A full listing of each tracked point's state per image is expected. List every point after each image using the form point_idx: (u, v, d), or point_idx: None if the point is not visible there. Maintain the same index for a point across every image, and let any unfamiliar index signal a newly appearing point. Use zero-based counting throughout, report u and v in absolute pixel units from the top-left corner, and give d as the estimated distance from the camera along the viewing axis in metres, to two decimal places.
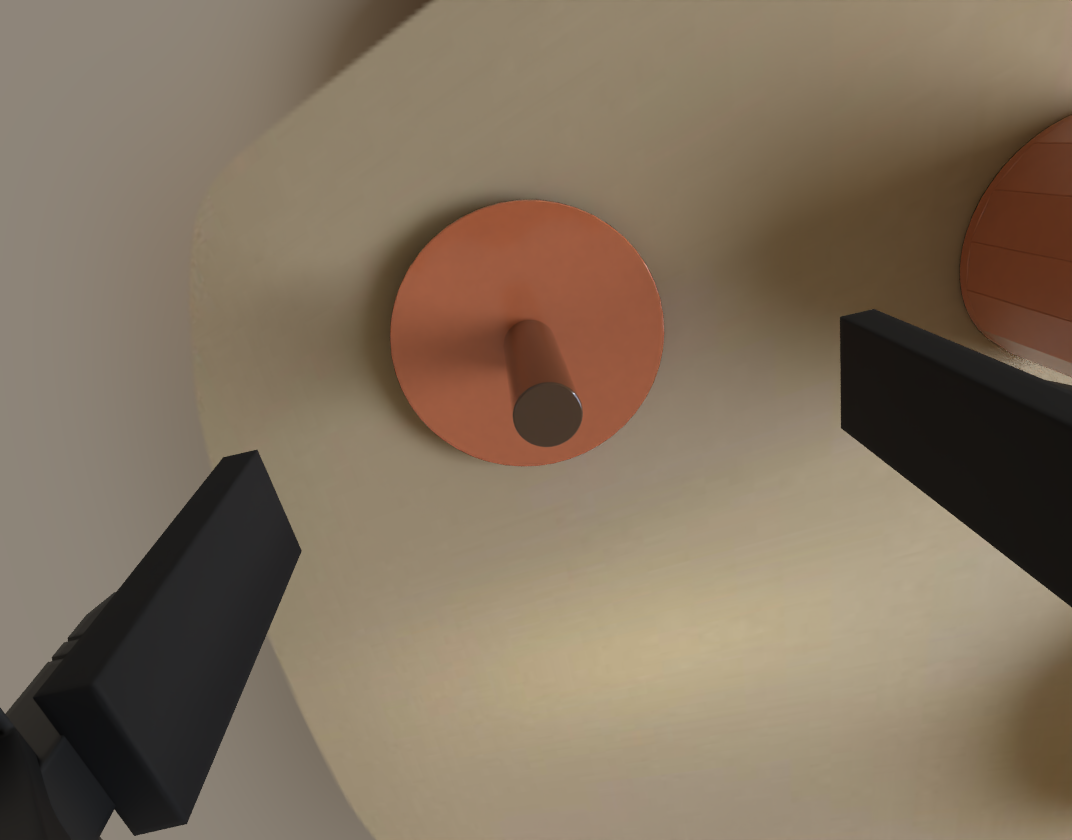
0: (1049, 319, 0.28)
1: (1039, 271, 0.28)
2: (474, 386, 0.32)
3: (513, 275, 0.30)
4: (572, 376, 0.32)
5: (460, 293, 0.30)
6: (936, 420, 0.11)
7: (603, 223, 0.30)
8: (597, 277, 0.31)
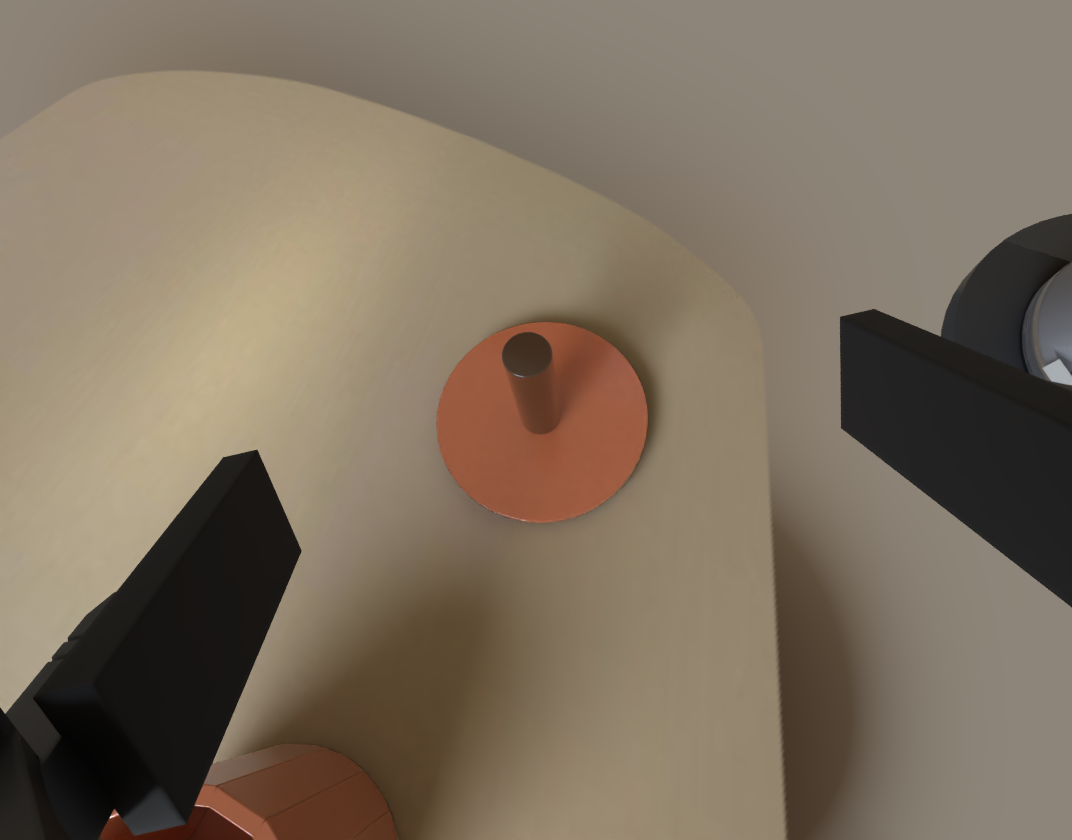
0: (278, 761, 0.31)
1: (318, 779, 0.31)
2: None
3: (590, 436, 0.40)
4: (498, 426, 0.41)
5: (604, 399, 0.41)
6: (936, 420, 0.11)
7: (580, 511, 0.39)
8: (550, 485, 0.39)
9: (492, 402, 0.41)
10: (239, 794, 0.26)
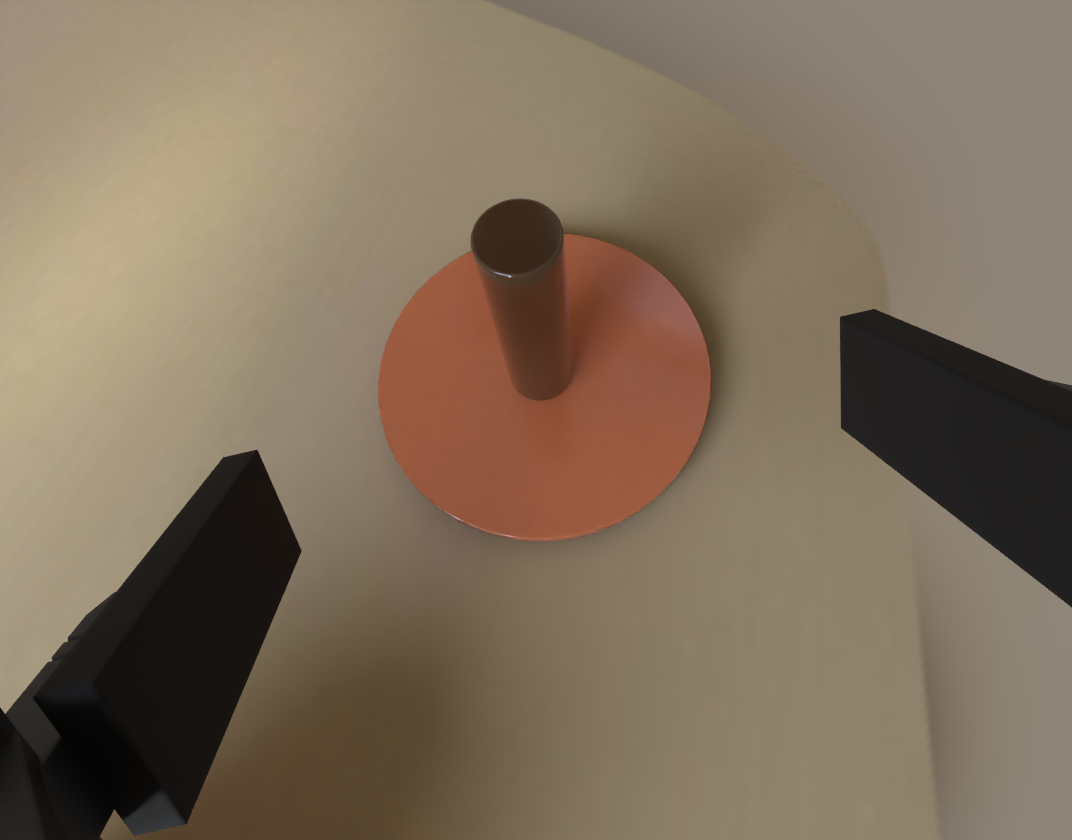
0: None
1: None
2: None
3: (619, 406, 0.25)
4: (474, 387, 0.26)
5: (641, 349, 0.26)
6: (936, 420, 0.11)
7: (601, 525, 0.24)
8: (552, 481, 0.24)
9: (466, 350, 0.27)
10: None
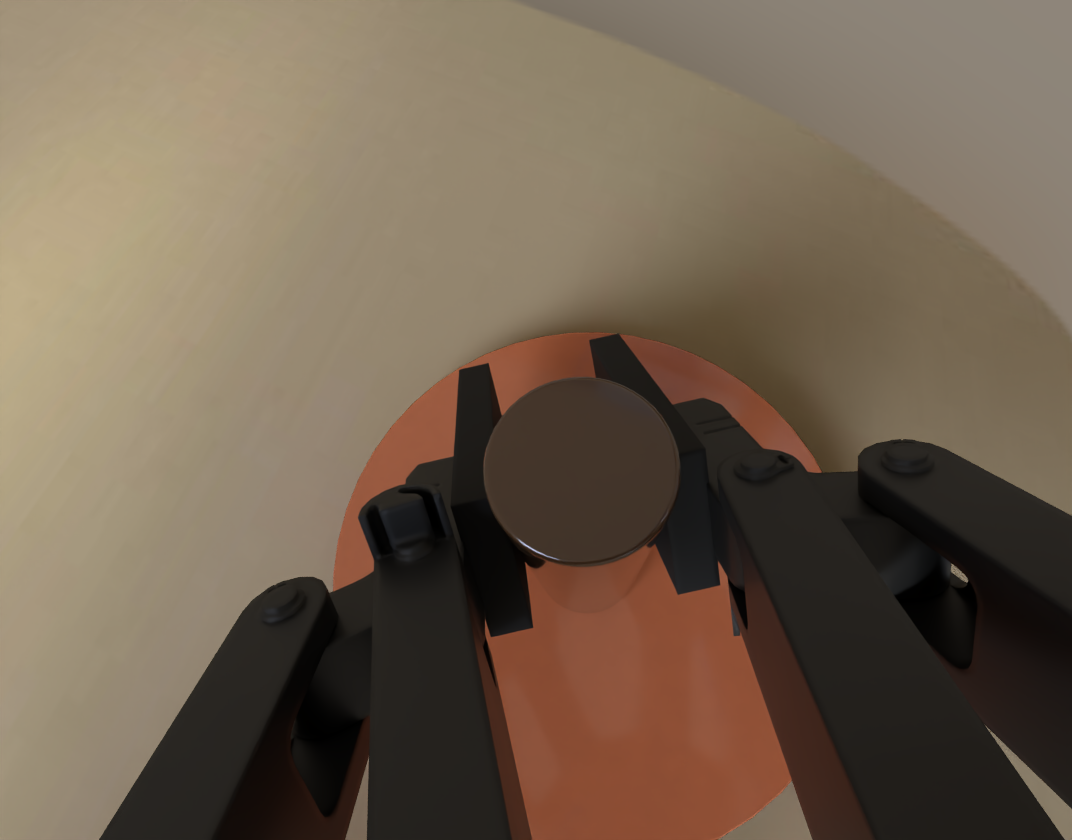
0: None
1: None
2: None
3: (712, 624, 0.16)
4: None
5: None
6: None
7: None
8: (610, 759, 0.15)
9: None
10: None
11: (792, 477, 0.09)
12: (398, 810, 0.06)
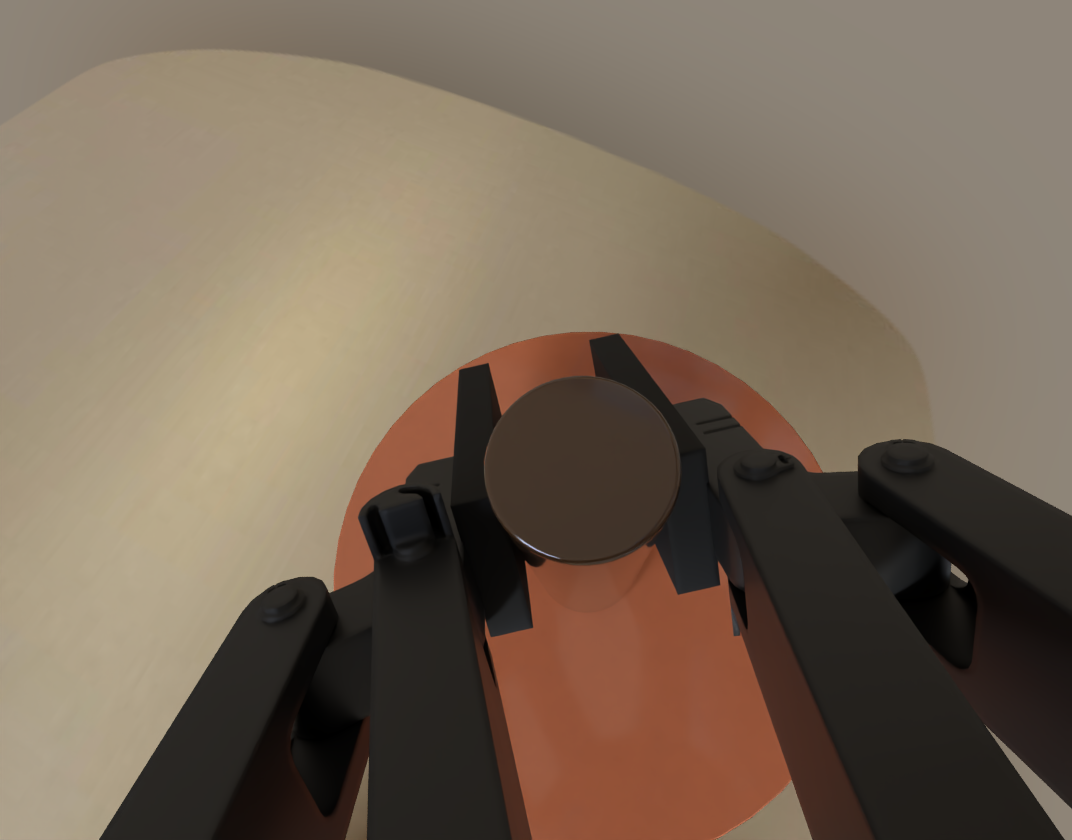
0: None
1: None
2: None
3: (712, 624, 0.16)
4: None
5: None
6: None
7: None
8: (611, 758, 0.15)
9: None
10: None
11: (792, 477, 0.09)
12: (398, 810, 0.06)
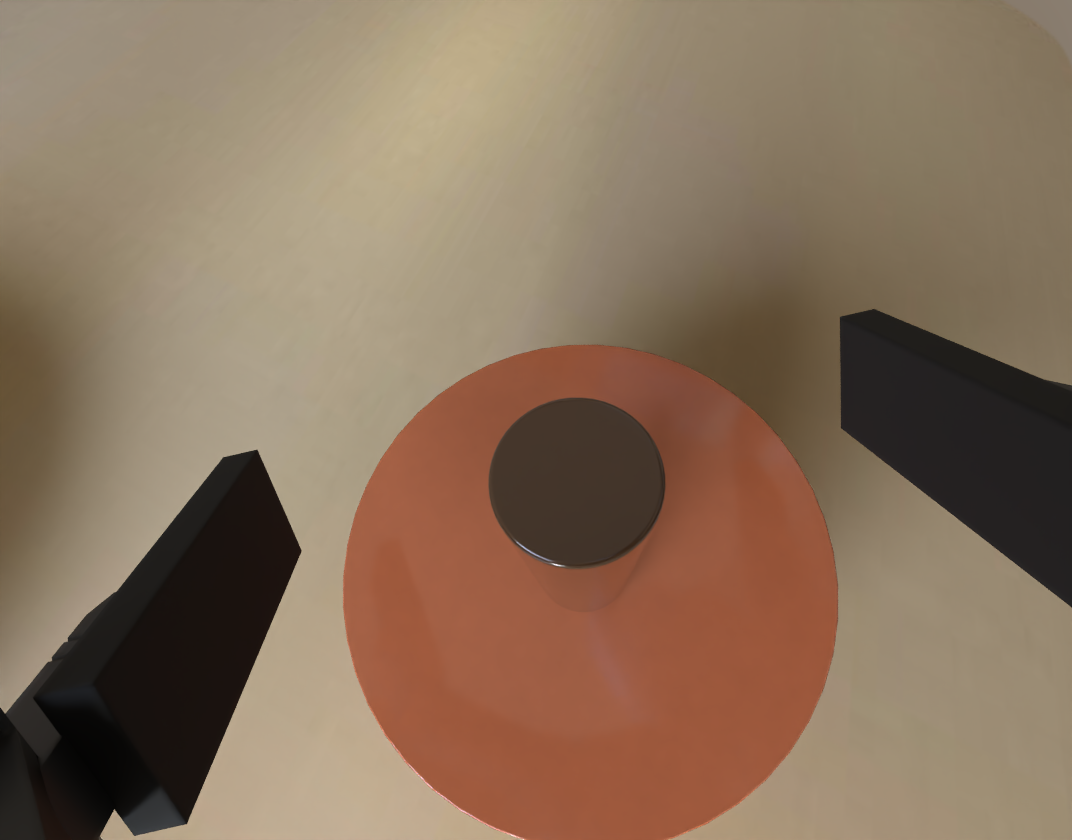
0: None
1: None
2: None
3: (701, 623, 0.17)
4: (484, 586, 0.18)
5: (730, 529, 0.18)
6: (936, 420, 0.11)
7: (684, 829, 0.15)
8: (606, 749, 0.16)
9: (472, 526, 0.18)
10: None
11: None
12: None
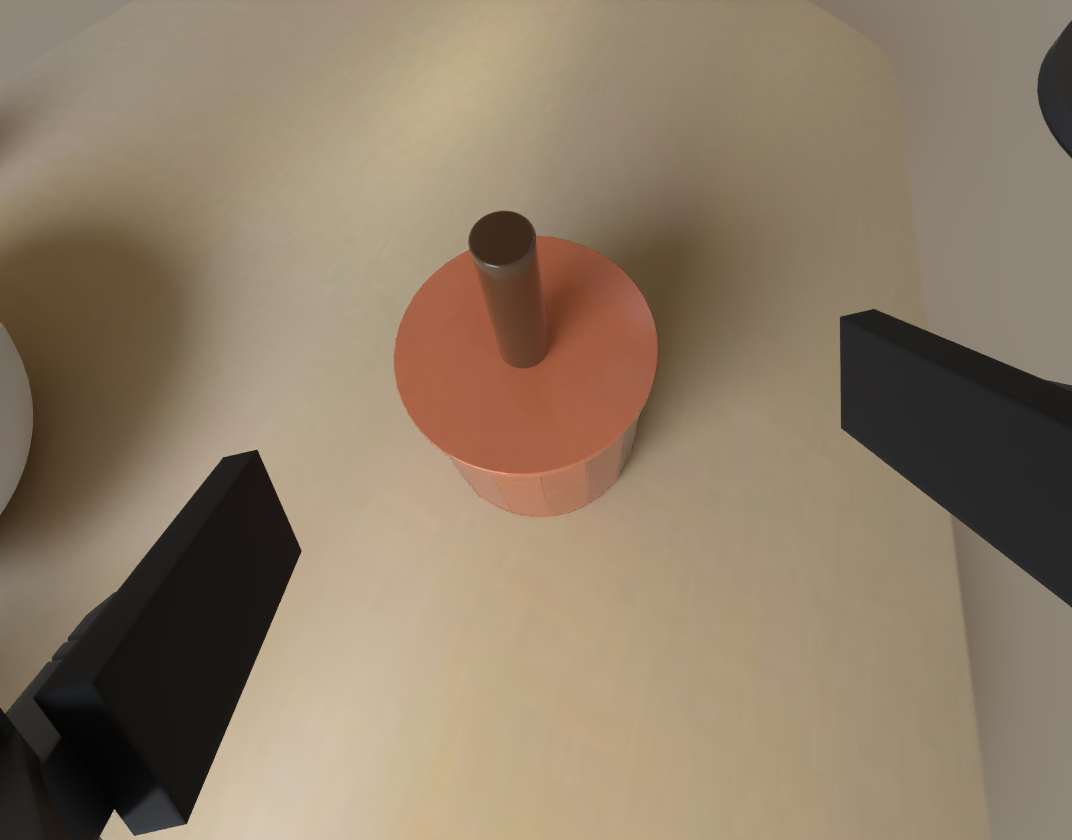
0: None
1: None
2: None
3: (585, 372, 0.32)
4: (471, 358, 0.33)
5: (603, 327, 0.33)
6: (936, 420, 0.11)
7: (570, 463, 0.30)
8: (532, 430, 0.31)
9: (464, 329, 0.33)
10: None
11: None
12: None
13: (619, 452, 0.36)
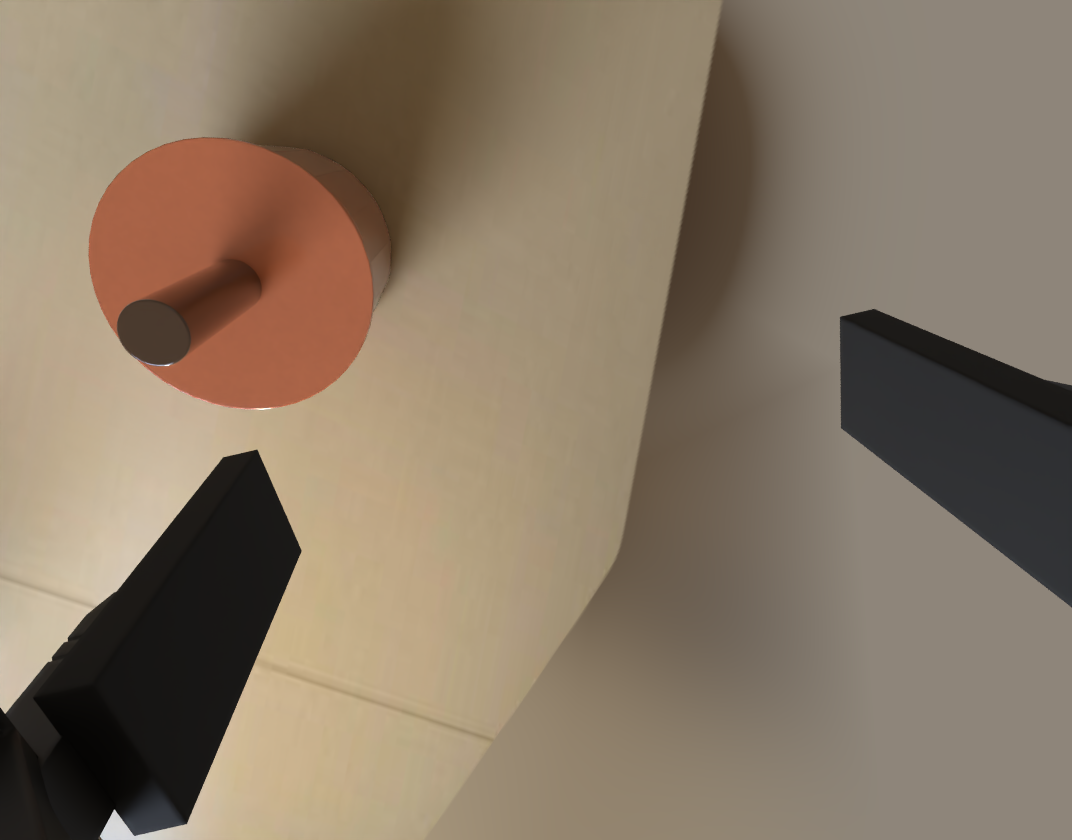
0: (284, 150, 0.36)
1: (322, 166, 0.37)
2: (224, 212, 0.31)
3: (303, 314, 0.33)
4: None
5: (316, 266, 0.32)
6: (936, 420, 0.11)
7: (299, 400, 0.35)
8: (260, 371, 0.34)
9: (165, 263, 0.31)
10: None
11: None
12: None
13: None
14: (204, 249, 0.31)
